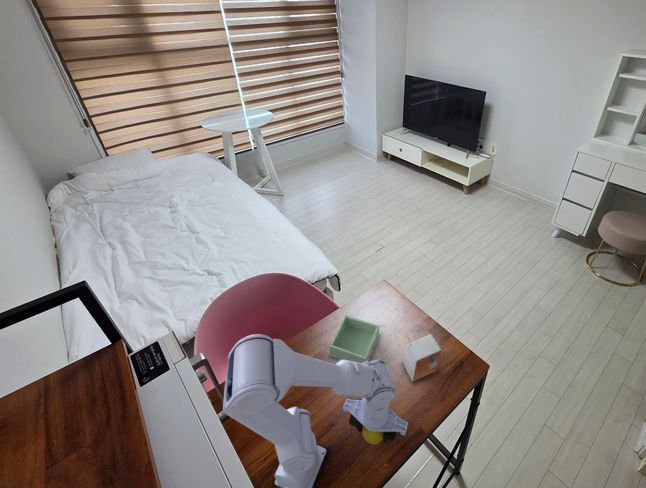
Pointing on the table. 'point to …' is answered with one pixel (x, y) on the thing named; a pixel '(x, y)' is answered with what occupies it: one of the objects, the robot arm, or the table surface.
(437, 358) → the white toy house
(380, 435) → the lemon
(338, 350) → the green square open tray
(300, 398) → the table surface
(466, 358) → the table surface
